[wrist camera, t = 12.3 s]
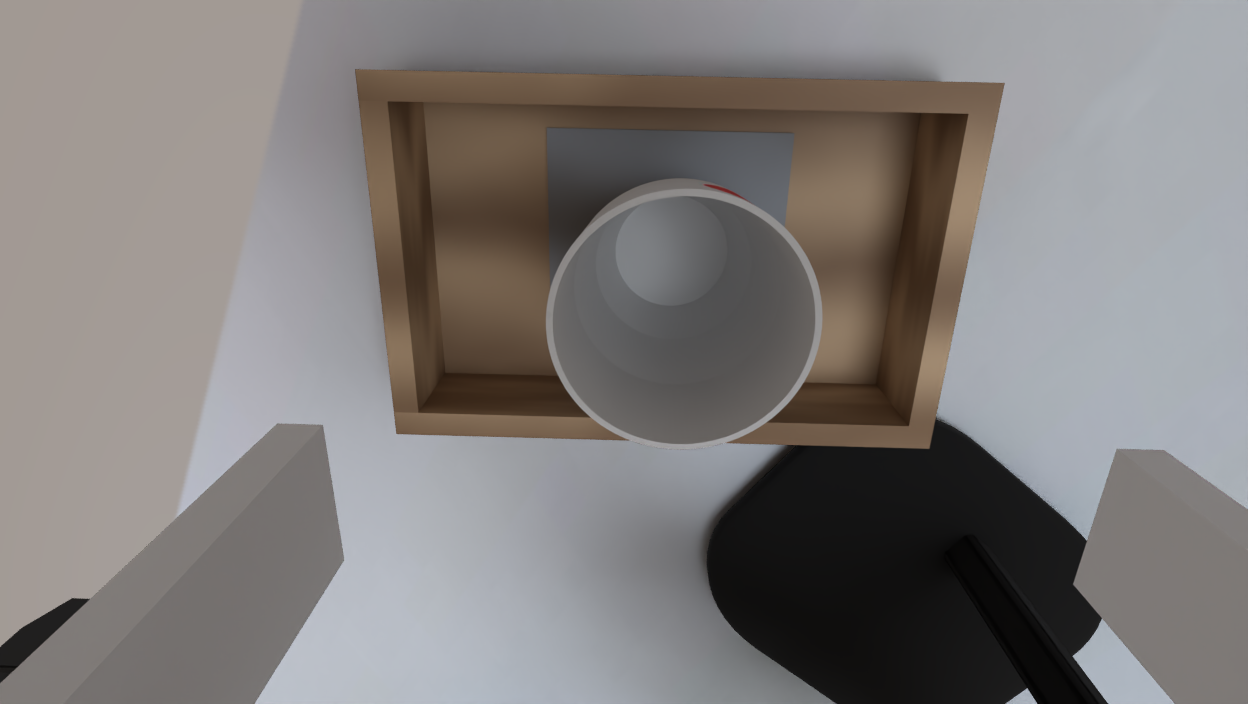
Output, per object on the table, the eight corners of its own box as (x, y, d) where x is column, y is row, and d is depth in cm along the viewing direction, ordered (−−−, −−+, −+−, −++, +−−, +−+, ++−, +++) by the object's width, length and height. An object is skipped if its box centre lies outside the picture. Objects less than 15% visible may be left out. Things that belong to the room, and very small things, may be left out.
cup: (793, 293, 30) (861, 387, 21) (627, 368, 32) (620, 487, 22) (719, 118, 28) (759, 136, 18) (542, 208, 29) (495, 266, 20)
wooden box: (402, 71, 28) (355, 69, 23) (943, 83, 28) (1004, 83, 23) (430, 384, 33) (396, 434, 29) (888, 397, 33) (929, 448, 28)
